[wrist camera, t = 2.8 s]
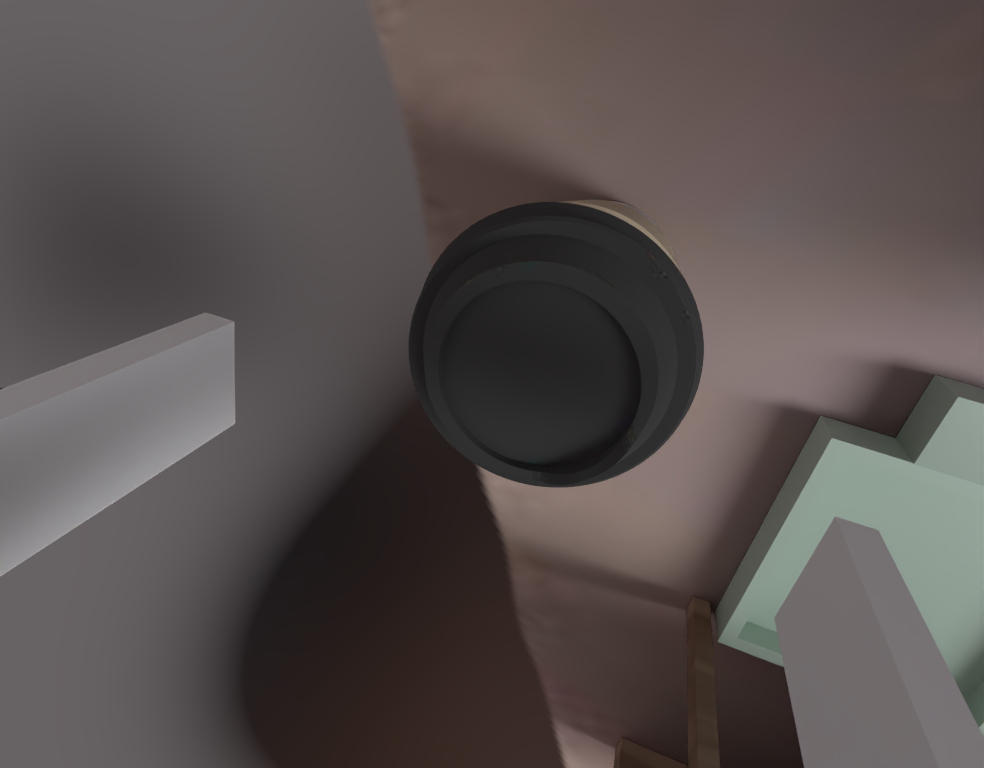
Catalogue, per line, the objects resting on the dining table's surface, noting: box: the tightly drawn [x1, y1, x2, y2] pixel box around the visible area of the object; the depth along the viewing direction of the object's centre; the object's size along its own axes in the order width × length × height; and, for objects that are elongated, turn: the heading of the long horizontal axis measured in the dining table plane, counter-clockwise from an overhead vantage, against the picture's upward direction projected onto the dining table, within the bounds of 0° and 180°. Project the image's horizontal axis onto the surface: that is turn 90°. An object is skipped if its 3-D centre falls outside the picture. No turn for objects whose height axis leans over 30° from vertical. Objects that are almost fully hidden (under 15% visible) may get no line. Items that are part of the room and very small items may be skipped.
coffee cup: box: [409, 200, 704, 487], centre depth 22 cm, size 9×9×15 cm
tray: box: [715, 375, 984, 737], centre depth 28 cm, size 18×14×2 cm
